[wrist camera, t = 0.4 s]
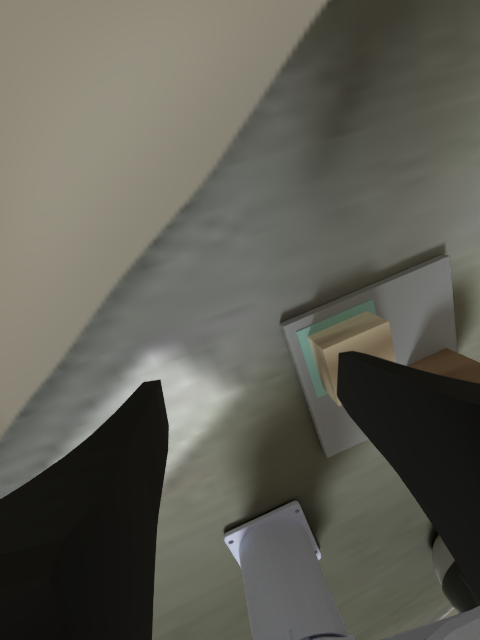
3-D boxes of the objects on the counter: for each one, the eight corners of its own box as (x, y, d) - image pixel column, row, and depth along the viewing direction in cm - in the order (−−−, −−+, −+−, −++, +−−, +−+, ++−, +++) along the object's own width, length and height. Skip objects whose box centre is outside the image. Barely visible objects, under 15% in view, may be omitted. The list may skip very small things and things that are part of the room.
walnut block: (450, 384, 25) (510, 419, 21) (411, 402, 25) (463, 441, 20) (446, 348, 24) (510, 376, 19) (405, 366, 24) (460, 399, 19)
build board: (453, 392, 27) (462, 397, 26) (323, 451, 26) (328, 459, 25) (440, 254, 22) (450, 255, 21) (279, 323, 21) (283, 327, 20)
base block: (377, 364, 23) (399, 379, 21) (323, 388, 23) (339, 406, 20) (366, 311, 21) (389, 321, 19) (307, 336, 21) (322, 349, 18)
